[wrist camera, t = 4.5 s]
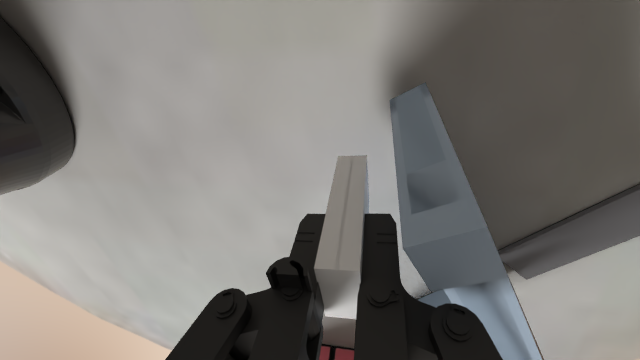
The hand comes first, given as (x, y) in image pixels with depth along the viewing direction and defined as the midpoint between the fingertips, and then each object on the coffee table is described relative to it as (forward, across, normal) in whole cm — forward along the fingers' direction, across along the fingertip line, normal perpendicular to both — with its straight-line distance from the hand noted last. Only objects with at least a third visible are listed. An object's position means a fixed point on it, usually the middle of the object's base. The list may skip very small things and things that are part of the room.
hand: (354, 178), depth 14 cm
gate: (+2, +6, -3) cm, 7 cm away
